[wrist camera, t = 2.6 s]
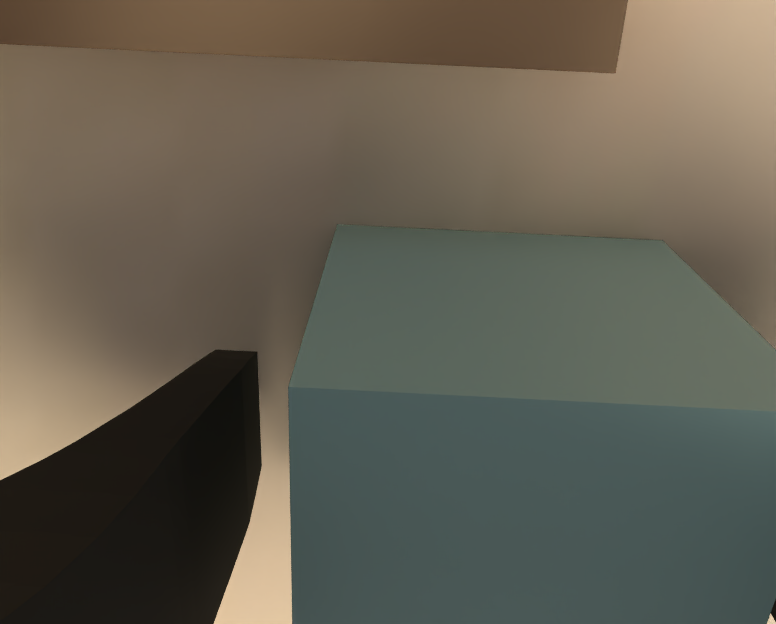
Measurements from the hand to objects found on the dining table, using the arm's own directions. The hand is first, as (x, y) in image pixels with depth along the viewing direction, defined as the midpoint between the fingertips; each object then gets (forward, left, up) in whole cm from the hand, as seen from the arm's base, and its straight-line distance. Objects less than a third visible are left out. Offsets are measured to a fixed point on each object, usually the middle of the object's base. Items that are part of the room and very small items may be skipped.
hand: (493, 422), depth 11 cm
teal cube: (0, 0, -2) cm, 2 cm away
